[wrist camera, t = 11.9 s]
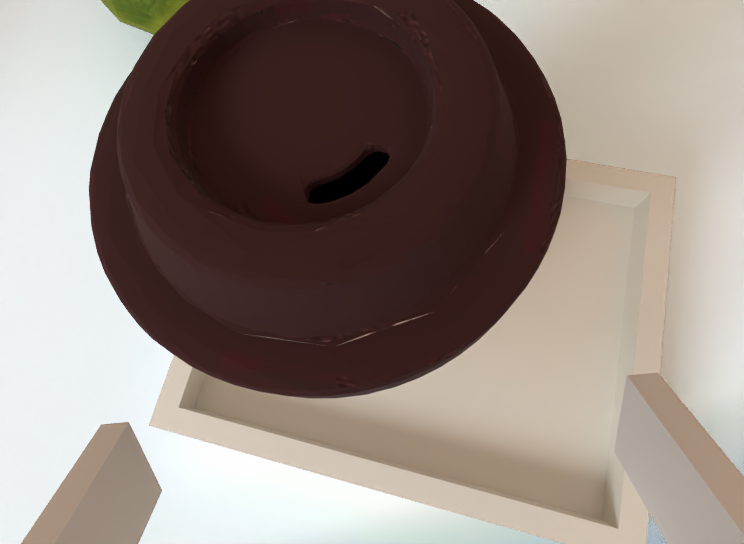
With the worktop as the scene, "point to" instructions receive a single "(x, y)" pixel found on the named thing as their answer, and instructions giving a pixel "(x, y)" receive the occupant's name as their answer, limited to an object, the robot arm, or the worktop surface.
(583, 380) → the tray
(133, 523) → the robot arm
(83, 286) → the worktop surface
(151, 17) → the lettuce
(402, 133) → the coffee cup
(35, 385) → the worktop surface
